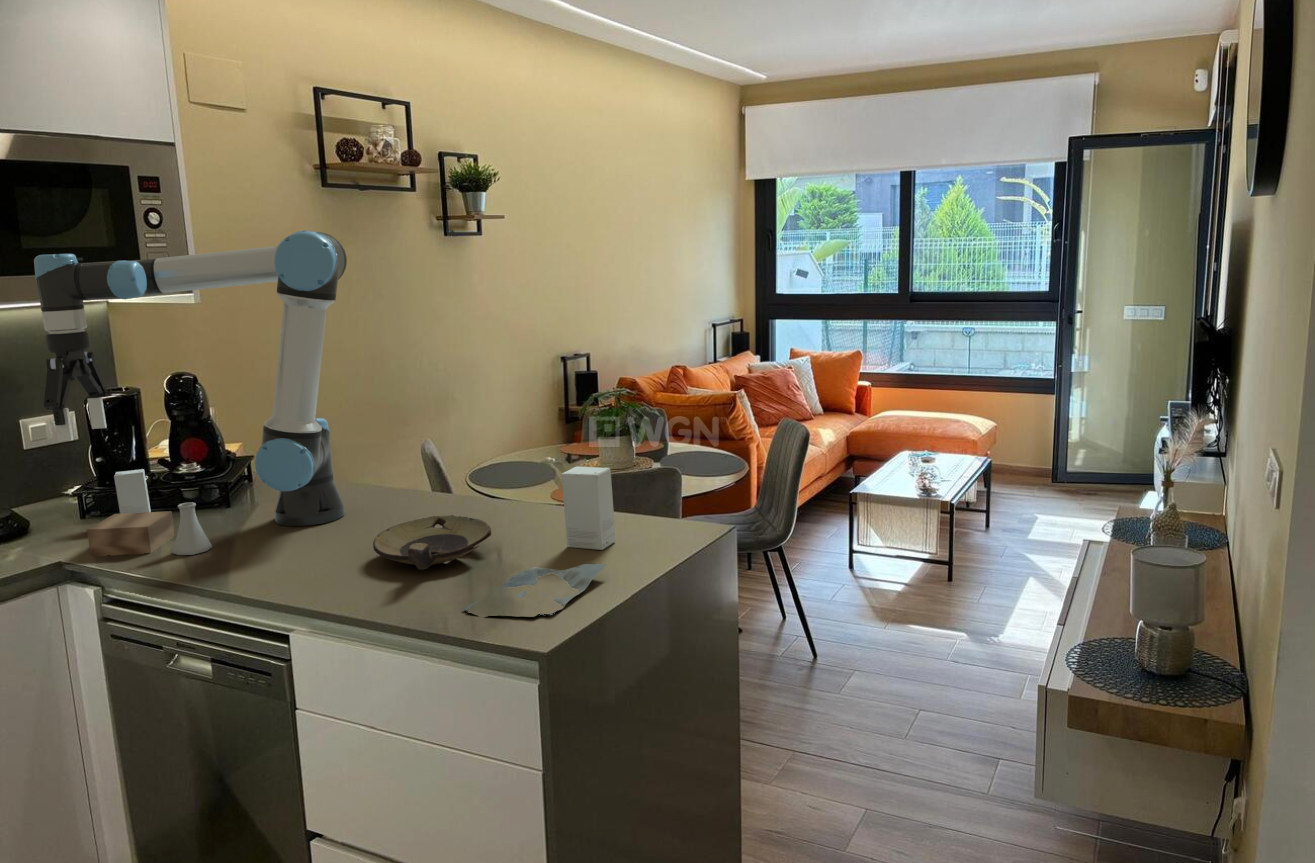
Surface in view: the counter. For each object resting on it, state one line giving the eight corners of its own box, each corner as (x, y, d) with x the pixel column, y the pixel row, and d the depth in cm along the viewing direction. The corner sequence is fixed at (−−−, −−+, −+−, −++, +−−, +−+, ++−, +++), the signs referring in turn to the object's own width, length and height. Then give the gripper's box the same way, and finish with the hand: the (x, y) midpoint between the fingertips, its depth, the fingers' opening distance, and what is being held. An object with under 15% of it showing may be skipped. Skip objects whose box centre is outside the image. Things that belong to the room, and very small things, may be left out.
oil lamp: (512, 542, 203) (510, 506, 201) (436, 592, 175) (433, 550, 173) (417, 535, 210) (415, 500, 208) (329, 582, 182) (325, 542, 180)
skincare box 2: (616, 542, 200) (613, 467, 197) (601, 551, 194) (597, 474, 192) (580, 538, 204) (576, 464, 201) (564, 547, 198) (560, 471, 195)
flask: (219, 547, 206) (213, 500, 204) (193, 557, 199) (187, 509, 197) (192, 544, 208) (186, 498, 206) (165, 555, 202) (158, 507, 200)
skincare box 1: (152, 518, 230) (145, 467, 228) (151, 523, 226) (144, 471, 224) (122, 522, 228) (115, 471, 225) (120, 527, 224) (113, 475, 221)
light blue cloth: (543, 634, 158) (541, 621, 157) (459, 624, 164) (458, 612, 164) (609, 576, 180) (607, 564, 179) (533, 569, 186) (531, 558, 185)
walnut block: (175, 537, 215) (171, 511, 214) (151, 554, 203) (147, 526, 202) (118, 540, 214) (114, 513, 213) (91, 557, 202) (86, 529, 201)
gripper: (79, 327, 212) (94, 424, 216) (11, 338, 187) (30, 447, 191) (115, 325, 212) (129, 422, 216) (51, 336, 188) (69, 445, 192)
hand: (83, 434), depth 204 cm, fingers open, 13 cm apart
